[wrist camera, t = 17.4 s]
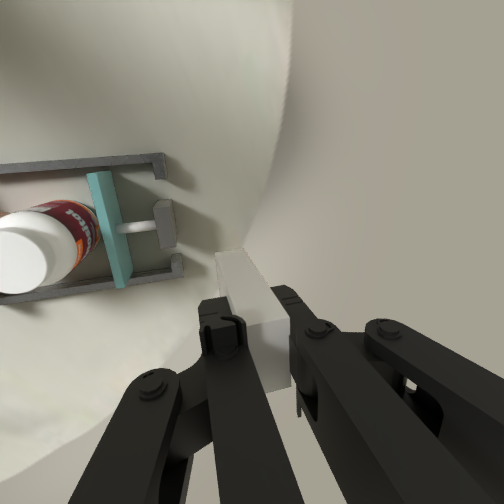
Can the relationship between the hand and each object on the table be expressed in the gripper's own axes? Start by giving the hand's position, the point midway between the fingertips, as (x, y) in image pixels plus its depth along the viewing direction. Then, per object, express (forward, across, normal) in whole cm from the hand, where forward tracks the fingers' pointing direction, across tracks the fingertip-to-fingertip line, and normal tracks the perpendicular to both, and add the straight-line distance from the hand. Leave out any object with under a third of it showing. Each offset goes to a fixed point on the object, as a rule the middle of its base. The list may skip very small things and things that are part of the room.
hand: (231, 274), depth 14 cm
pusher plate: (+19, -6, -1) cm, 20 cm away
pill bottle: (+19, -14, 0) cm, 24 cm away
